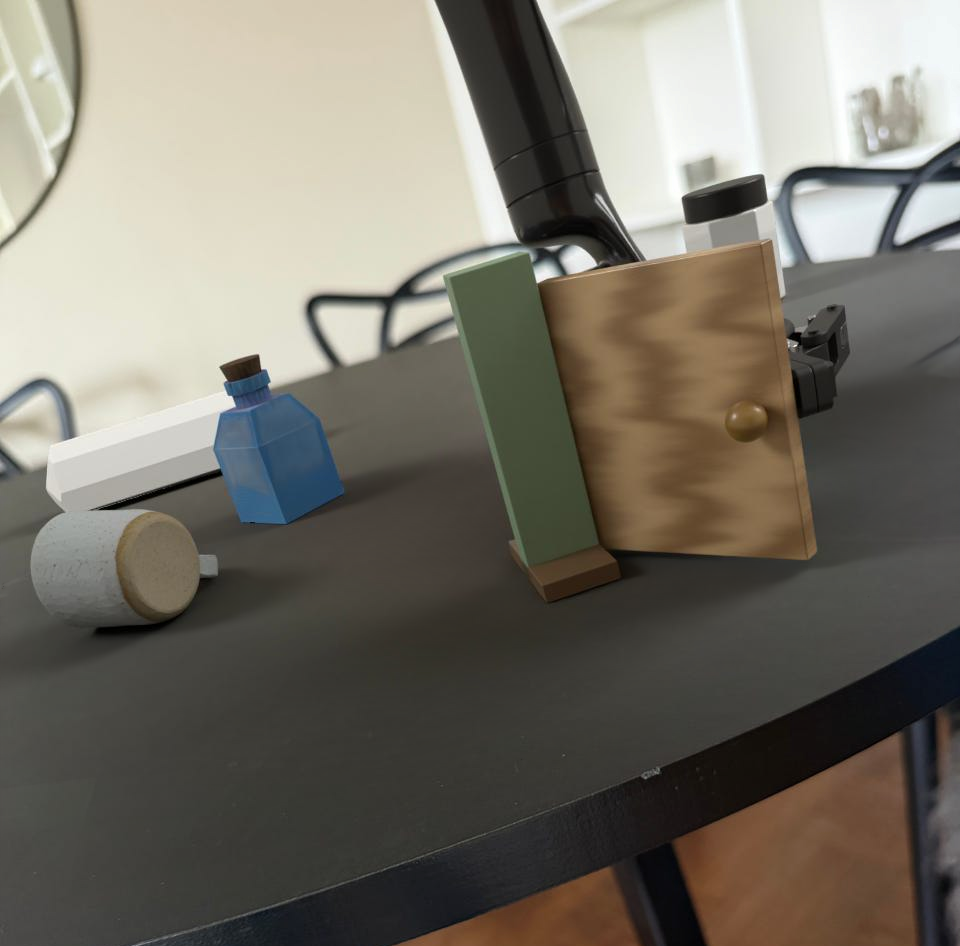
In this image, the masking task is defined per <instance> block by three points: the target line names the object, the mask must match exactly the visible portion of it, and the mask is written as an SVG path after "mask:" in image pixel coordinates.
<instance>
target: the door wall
mask: <svg viewBox="0 0 960 946" xmlns="http://www.w3.org/2000/svg"><path fill="white" fill-rule="evenodd" d="M535 273H536V272H535V270H534V265H533V260H532V256H531V254H530V252H529V251H516V252H513V253H510V254H507V255H503V256H500V257H497V258H493V259H490V260H488V261H484V262H481V263H478V264H474V265H471V266H467V267H465V268H461V269H458V270H454V271H452V272H448V273H445V274H443V275H442V278H443V279H442V280H443V282H444V286H445V289H446V293H447V297H448V300H449V304H450V307H451V311H452V315H453V319H454V322H455V326H456V329H457V333H458V337H459V341H460V344H461V348H462V351H463V356H464V358H465V363H466V366H467V370H468V373H469V374H468V375H469V377H470V380H471V384H472V388H473V392H474V396H475V399H476V402H477V406H478V409H479V414H480V417H481V421H482V424H483V428H484V431H485V435H486V438H487V442H488V447H489V449H490V454H491V457H492V460H493V464H494V468H495V471H496V475H497V479H498V481H499V482H498V483H499V487H500V490H501V493H502V497H503V501H504V505H505V508H506V512H507V515H508V518H509V522H510V526H511V529H512V533H513V537H514V539H510V540H508V542H507V543H508V547H509V550H510V554H511V557H512V559H513V560H514V561H515V563H516V564H517V565H518V566H519V567H520V569H521V571H522V572H523V573H524V575H525V576H526V577H527V579H528V580H529V581H530V583H531V584H532V585H533V586H534V588H535V589H536V590H537V592H538V593H539V595H540V596H541V597H542V599H543V600H544V601H545V602H546V603H547V604H549V603H552V602H555V601H557V600H561V599H564V598H566V597H569V596H573V595H575V594H579V593H581V592H584V591H587V590H590V589H594V588H596V587H599V586H602V585H605V584H609V583H611V582H614V581H617V580H620V579H621V578H622V576H621V572H620V568H619V564H618V560H617V559H616V558H615V557H613V555H612V554H610V553H609V551H608V550H607V549H604V548H603V547H602V546H601V545H600V544H599V541H598V537H597V533H596V528H595V524H594V520H593V516H592V512H591V507H590V503H589V499H588V495H587V491H586V486H585V482H584V478H583V474H582V470H581V466H580V461H579V457H578V453H577V449H576V445H575V440H574V436H573V432H572V428H571V424H570V420H569V415H568V411H567V407H566V403H565V399H564V394H563V390H562V386H561V382H560V378H559V374H558V369H557V365H556V361H555V357H554V353H553V348H552V344H551V340H550V336H549V332H548V327H547V323H546V319H545V315H544V311H543V307H542V302H541V298H540V294H539V290H538V286H537V283H538V282H537V278H536V274H535Z"/></svg>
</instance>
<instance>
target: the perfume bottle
mask: <svg viewBox="0 0 960 946" xmlns="http://www.w3.org/2000/svg"><path fill="white" fill-rule="evenodd" d="M218 368H219V370H220V371H221V373H222V374H223V376H224V378H225V379H226V380H225V381H223V387H224V391H226V392H227V395H228V396H232V397H233V400H234V403H235V405H236V407H234V408H231V409H229V410H227V411H224V412H222V413H220V417H219V422H218V427H217V432H216V437H215V442H214V447H213V451H214V453H215V456H216V458H217V461H218V463H219V466H220V469H221V474H222V477H223V479H224V481H225V484H226V486H227V489H228V492H229V495H230V497H231V499H232V501H233V504H234V507H235V509H236V513H237V514H238V516H239V517H238V518H239V520H240V522H241V523H250V522H255V523H254V524H273V525H275V524H276V525H287V524H289V523H291V522H293V521H295V520H296V519H299V518H300V517H302V516H304V515H306V514H309V512H312V511H314V510H316V509H317V508H319V507H321V506H323V505H325V504H326V503H328V502H330V501H332V500H334V499H336V498H338V497H339V496H342V495H343V494H345V493H346V492H345V489H344V486H343V484H342V481H341V478H340V475H339V472H338V470H337V466H336V463H335V460H334V458H333V455H332V450H331V449H330V446H329V442H328V439H327V437H326V436H327V435H326V434H325V430H324V429H323V425H322V421H321V419H320V418H319V417H318V415H316V414H315V413H313V411H311V410H310V409H309V408H308V407H306V406H305V405H304V404H303V403H302V402H301V401H300V400H298V399H297V398H296V397H295V396H294V395H292V393H290V392H286V393H278V394H272V392H271V389H270V386H269V384H270V383H271V378H270V375H269V373H268V369H266V368H263V369H262V365H261V357H260V354H259V353H255V354H251V355H247V356H243V357H239V358H236V359H233V360H231V361H228V362H226V363H223V364H221V365H219V367H218Z"/></svg>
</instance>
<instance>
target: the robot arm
mask: <svg viewBox="0 0 960 946" xmlns="http://www.w3.org/2000/svg"><path fill="white" fill-rule="evenodd" d="M433 1H434V2H435V5H436V8H437V11H438V13H439V16H440V18H441V21H442V23H443V25H444V27H445V30H446V32H447V36H448V38H449V41H450V44H451V46H452V49H453V52H454V55H455V57H456V60H457V62H458V66H459V69H460V72H461V75H462V77H463V80H464V84H465V87H466V90H467V93H468V96H469V99H470V101H471V105H472V107H473V111H474V114H475V117H476V121H477V123H478V127H479V129H480V132H481V136H482V139H483V142H484V145H485V148H486V151H487V155H488V157H489V160H490V164H491V166H492V170H493V172H494V176H495V179H496V182H497V185H498V188H499V191H500V195H501V198H502V200H503V203H504V207H505V208H506V212H507V215H508V219H509V221H510V224H511V227H512V229H513V233H514V235H515V237H516V238H517V240H518V242H519V243H520V244H521V245H522V246H524V247H525V248H528V249H543V248H545V249H546V248H551V247H558V246H576V247H579V248H581V249H582V250H583V251H585V252H586V253H587V254H588V255H589V256H590V257H591V258H592V259H593V261H594V263H596V265H595V266H592V267H589V268H586V269H584V270H582V271H579V272H578V273H581V272H586V271H592V270H597V269H603V268H608V267H614V266H619V265H625V264H630V263H636V262H641V261H647V259H646V257H645V256H644V254H643V253H642V251H641V250H640V248H639V247H638V245H637V244H636V242H635V240H634V239H633V237H632V235H631V234H630V232H629V231H628V229H627V226H626V225H625V223H624V222H623V220H622V217H621V216H620V215H619V213H618V211H617V209H616V207H615V205H614V203H613V201H612V198H611V197H610V195H609V192H608V190H607V187H606V185H605V181H604V178H603V176H602V175H603V174H602V172H601V168H600V165H599V162H598V159H597V156H596V152H595V149H594V146H593V142H592V139H591V136H590V133H589V130H588V125H587V123H586V120H585V117H584V114H583V111H582V109H581V106H580V103H579V100H578V97H577V94H576V93H575V90H574V87H573V84H572V82H571V79H570V77H569V75H568V72H567V69H566V67H565V64H564V62H563V60H562V59H563V58H561V55H560V53H559V50H558V48H557V46H556V43H555V41H554V39H553V36H552V34H551V32H550V29H549V27H548V24H547V22H546V20H545V17H544V15H543V13H542V10H541V8H540V4H539V3H538V0H433ZM846 315H847V314H846V307H845V305H844V304H837V303H833V304H828V305H827V306H826V307H824V308H822V309H820V310H819V311H818V313H816V314H812V315H809V316H807V318H806V320H807V321H806V322H807V325H804V326H799V327H795V324H794V323H793V321H791V320H790V319H788V318H785V317H783V318H784V325H785V332H786V338H787V345H788V352H789V359H790V366H791V373H792V380H793V387H794V394H795V401H796V408H797V415H798V420H800V419H804V418H808V417H810V416H813V415H816V414H819V413H822V412H826V411H828V410H831V409H832V408H833V407H834V398H837V397H838V390H837V384H836V383H837V381H836V377H837V376H838V374H839V373H840V371H841V370H842V367H843V366H844V364H845V363H846V361H847V360H848V358H849V356H850V355H851V350H850V340H849V330H848V323H847V316H846Z"/></svg>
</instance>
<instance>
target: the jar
mask: <svg viewBox="0 0 960 946" xmlns="http://www.w3.org/2000/svg"><path fill="white" fill-rule="evenodd" d="M766 185H767V184H766V177H765V175H764V174H762V173H756V174H751V175H747V176H742V177H738V178H734V179H729V180H725V181H722V182H719V183H715V184H712V185H709V186H706V187H703V188H699V189H697V190H694V191H691V192H688V193H686V194H683V196H682V197H681V204H682V210H683V216H684V221H685V223H684V224H682V226H681V230H682V235H683V241H684V246H685V252H686V253H691V252H696V251H702V250H707V249H713V248H718V247H724V246H729V245H735V244H740V243H746V242H751V241H757V240H762V239H767V238H771V239H772V242H773V249H774V255H775V262H776V269H777V276H778V283H779V290H780V297H781V299H783V298H784V297H786V286H785V281H784V280H785V279H784V271H783V266H782V265H783V264H782V259H781V253H780V246H779V245H780V244H779V238H778V230H777V225H776V217H775V210H774V203H773V201H772V200H769V199H768V190H767V186H766Z"/></svg>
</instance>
